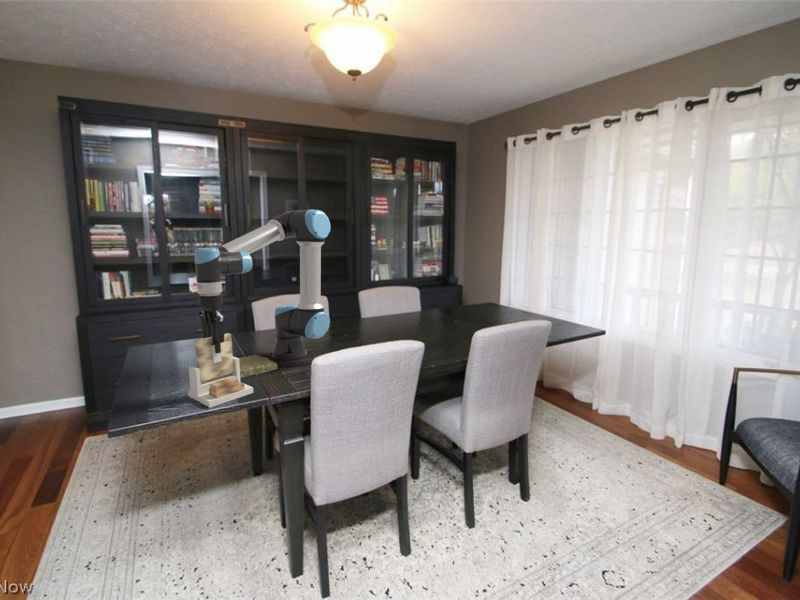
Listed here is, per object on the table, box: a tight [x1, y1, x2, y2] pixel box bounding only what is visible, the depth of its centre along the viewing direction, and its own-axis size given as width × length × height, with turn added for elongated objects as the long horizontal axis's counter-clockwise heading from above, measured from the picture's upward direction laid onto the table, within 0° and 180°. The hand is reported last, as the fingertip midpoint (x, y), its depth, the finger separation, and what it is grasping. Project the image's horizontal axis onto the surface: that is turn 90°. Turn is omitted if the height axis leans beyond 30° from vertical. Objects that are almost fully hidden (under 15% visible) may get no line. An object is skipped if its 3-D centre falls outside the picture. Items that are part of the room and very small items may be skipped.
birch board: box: [194, 332, 234, 382], centre depth 145 cm, size 12×2×14 cm, turn 142°
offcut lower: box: [209, 381, 245, 398], centre depth 142 cm, size 10×5×2 cm, turn 142°
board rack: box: [187, 356, 254, 408], centre depth 144 cm, size 16×14×11 cm
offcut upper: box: [210, 377, 239, 392], centre depth 141 cm, size 8×4×2 cm, turn 142°
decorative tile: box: [238, 354, 278, 379], centre depth 171 cm, size 19×20×4 cm
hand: (215, 360), depth 145 cm, fingers closed on birch board, 2 cm apart
